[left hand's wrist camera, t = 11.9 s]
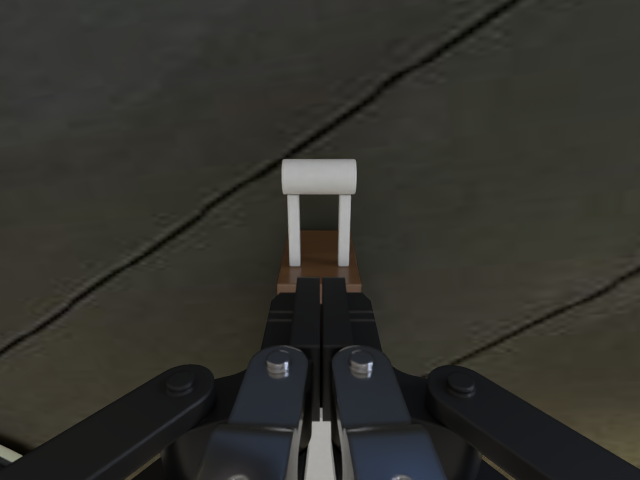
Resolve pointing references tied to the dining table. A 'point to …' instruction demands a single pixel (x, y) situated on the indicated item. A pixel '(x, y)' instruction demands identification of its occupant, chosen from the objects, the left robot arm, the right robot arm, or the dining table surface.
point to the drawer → (318, 245)
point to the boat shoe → (7, 456)
